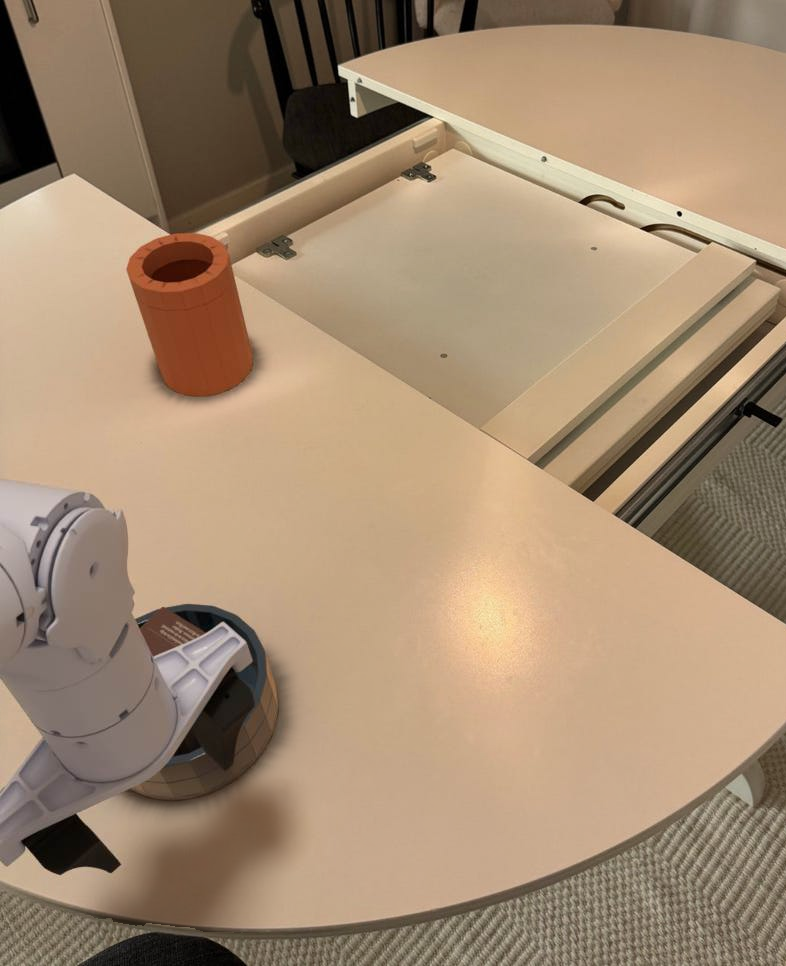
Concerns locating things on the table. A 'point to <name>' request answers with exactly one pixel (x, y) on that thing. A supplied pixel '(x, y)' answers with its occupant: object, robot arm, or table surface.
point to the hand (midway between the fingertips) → (164, 805)
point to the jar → (192, 312)
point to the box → (168, 634)
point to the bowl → (199, 769)
